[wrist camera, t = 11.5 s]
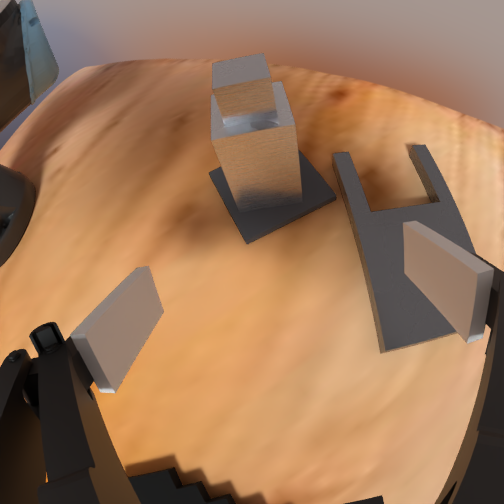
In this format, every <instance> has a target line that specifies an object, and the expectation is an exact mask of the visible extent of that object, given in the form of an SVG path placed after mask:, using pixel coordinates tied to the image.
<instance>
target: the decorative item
mask: <svg viewBox="0 0 504 504" xmlns="http://www.w3.org/2000/svg"><path fill="white" fill-rule="evenodd" d="M128 479H129V481H130V483H131V485H132V487H133V489H134V491H135V493H136V495H137V497H138V499H139V501H140V502H141V504H236V503H235V501H234V499H233V498H232V496H231V494H227V495H224V496H220V497H216V498H212V499H210V497H209V495H208V493H207V491H206V489H205V487H204V485H203V483H202V481H200V482H196V483H192V484H187V485H182V483H181V481H180V479H179V476H178V474H177V472H176V470H175V468H170V469H166V470H162V471H157V472H153V473H148V474H143V475H138V476H132V477H128Z"/></svg>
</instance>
